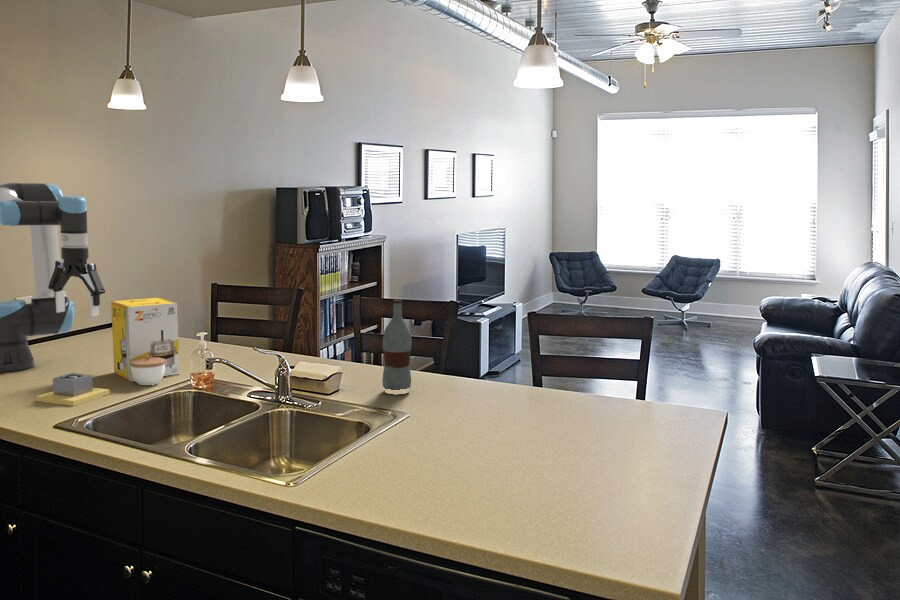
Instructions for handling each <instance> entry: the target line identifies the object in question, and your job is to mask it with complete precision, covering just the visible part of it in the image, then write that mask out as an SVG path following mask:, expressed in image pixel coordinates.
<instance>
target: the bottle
mask: <svg viewBox="0 0 900 600" xmlns="http://www.w3.org/2000/svg"><path fill="white" fill-rule="evenodd" d="M392 301H393V310H392V311H393V312H392V313H393V314H392V315H393V317H392V318H391V319H390V321H389V323H388V324H387V326H386V327H385V329H384V331H383V338H382V349H383V362H384V363H383V365H384V366H383V373H382V381H381V382H382V388H383V387H384V388H385V389H391V390H400V389H407V388H409V387H410V388H411V385H412V376H411V375H412V374H411V366H410V363H411V353H412V352H411V350H412V333H411V329H410V328H409V326H408V325H407V323H406V321H405V320H404V318H403V316H402V315H403V314H402V313H403V312H402V311H403V310H402V307H403V305H402V303H403V300H402V299H393V300H392Z"/></svg>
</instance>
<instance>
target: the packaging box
mask: <svg viewBox="0 0 900 600" xmlns="http://www.w3.org/2000/svg"><path fill="white" fill-rule="evenodd" d="M110 303H111V323H112V325H111V329H112V347H113V348H112V351H113V369H114V371H113V372H114V373H115V374H116V373H117V374H116V375H118V376H120V377H122V378H124V377H125V378H126V379H125V378H124V379H125V380H127V379H128V380H127V381H129V380H130V381H129V382H131V381H132V382H135V381H134V379H133V377H132V374H131V367H130V361H132V360H134V359H138V358H146V356H147V355H149V357H159V358H163V359H165V373H164V376H165V375H172V374H177V373H179V374H180V352H179V349H180V346H179V321H178V319H179V316H178V302H174V301H171V300H167V299H164V298H161V297H152V298H151V297H150V298H137V299H135V298H134V299H127V300H126V299H124V300H113V301H112V300H111V301H110Z"/></svg>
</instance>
